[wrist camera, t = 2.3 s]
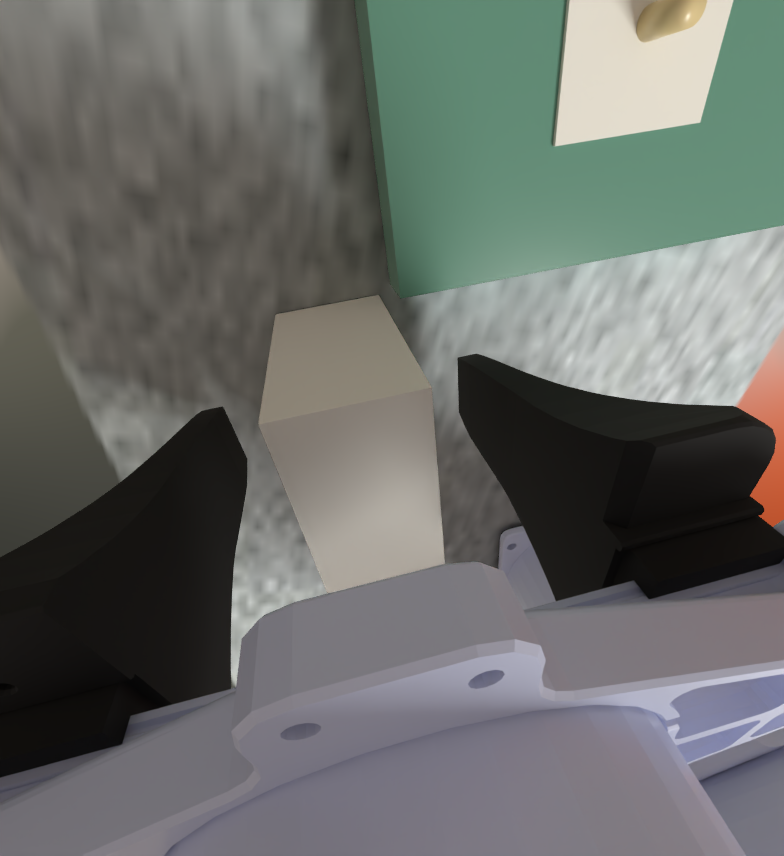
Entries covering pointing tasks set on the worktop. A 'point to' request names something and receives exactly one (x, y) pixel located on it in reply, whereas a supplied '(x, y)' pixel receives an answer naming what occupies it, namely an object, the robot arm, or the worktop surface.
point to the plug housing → (354, 441)
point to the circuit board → (568, 130)
